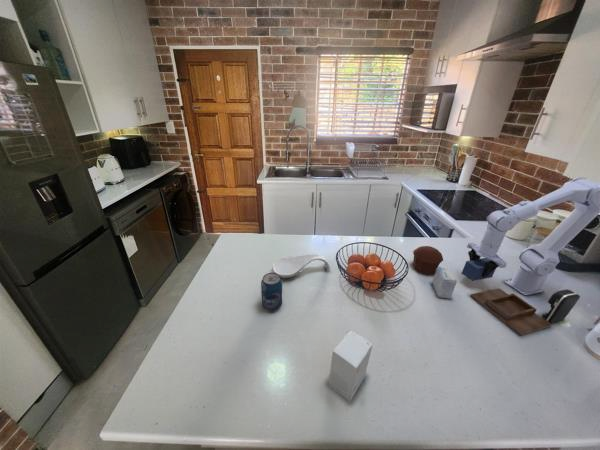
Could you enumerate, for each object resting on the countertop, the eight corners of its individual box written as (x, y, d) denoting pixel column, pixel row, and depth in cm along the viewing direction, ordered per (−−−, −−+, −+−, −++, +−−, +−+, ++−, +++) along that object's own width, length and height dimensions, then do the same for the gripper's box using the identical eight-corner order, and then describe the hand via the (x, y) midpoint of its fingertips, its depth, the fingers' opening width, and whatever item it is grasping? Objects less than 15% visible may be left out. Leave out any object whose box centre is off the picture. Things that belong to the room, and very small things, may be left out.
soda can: (262, 314, 82) (260, 286, 76) (261, 299, 88) (260, 272, 82) (283, 312, 83) (283, 284, 77) (281, 297, 89) (281, 270, 83)
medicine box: (450, 299, 91) (457, 280, 87) (437, 297, 92) (444, 278, 88) (443, 285, 98) (450, 267, 94) (431, 283, 99) (437, 265, 95)
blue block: (480, 269, 102) (486, 257, 99) (492, 277, 97) (498, 264, 95) (461, 273, 99) (466, 261, 96) (472, 281, 95) (477, 268, 92)
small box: (344, 361, 68) (350, 328, 62) (365, 377, 64) (373, 343, 58) (327, 384, 62) (332, 350, 56) (349, 402, 59) (357, 368, 53)
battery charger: (551, 311, 87) (569, 286, 82) (564, 320, 84) (583, 294, 79) (536, 314, 86) (553, 289, 80) (548, 323, 82) (566, 297, 77)
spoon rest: (274, 284, 95) (274, 269, 92) (270, 266, 105) (270, 252, 102) (332, 276, 100) (334, 262, 97) (323, 260, 110) (324, 246, 107)
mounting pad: (498, 290, 96) (501, 284, 95) (550, 326, 81) (555, 320, 80) (470, 296, 93) (473, 290, 91) (519, 335, 77) (523, 329, 76)
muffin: (434, 262, 112) (440, 243, 107) (442, 277, 102) (450, 257, 97) (407, 259, 113) (412, 240, 109) (412, 274, 104) (418, 254, 99)
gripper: (465, 234, 97) (455, 262, 103) (501, 254, 84) (487, 285, 90) (479, 232, 98) (468, 260, 104) (517, 251, 86) (501, 282, 92)
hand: (477, 271), depth 98 cm, fingers closed on blue block, 5 cm apart
